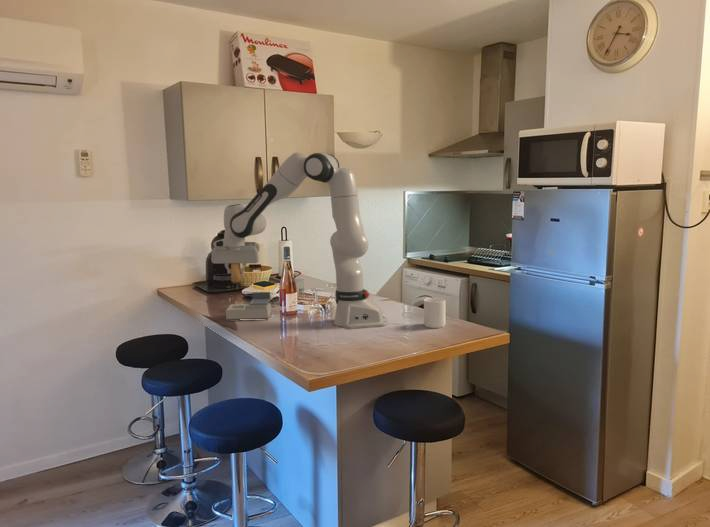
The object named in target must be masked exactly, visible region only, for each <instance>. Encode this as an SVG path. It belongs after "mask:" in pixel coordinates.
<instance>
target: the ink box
mask: <svg viewBox="0 0 710 527" xmlns="http://www.w3.org/2000/svg"><path fill="white" fill-rule="evenodd" d="M294 279H295V283H296V286H297V291H298V293H304V294H305V280H304V279H302V278H294Z"/></svg>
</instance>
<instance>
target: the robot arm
mask: <svg viewBox="0 0 710 527" xmlns="http://www.w3.org/2000/svg"><path fill="white" fill-rule="evenodd" d="M306 178H309V179H311V180H313V181H316V182H321V183H325V184H326V183H327V184H328V186H329V191H330V203H331V213H332V214H331V215H332V218H333V221H334V223H335V227H336V228H335V229H336V231H334V232H333V234H331V236H330V240H329V242H330V243H329V244H330V246H331V251H332V252H331V253H332V257H333V261H334V262H333V263H334V268H335V269H334V270H335V278H336V279H335V280H336V281H335V283H336V285H335V286H336V290H335V296H334V297H335V298H334V299H335V304H336V305H335V306H336V307H335V317H334V319H333V324H334V325H336V326H338V327H344V328H345V329H350V330H351V329H362V328H373V327H374V328H375V327H384V326H386V325H388V323H389V321H388V319H387V317H386V316H385V315H383V312H382V308H381V307H380V306H379V305H378V303H376V302H374V301H373V300H371V299H370V298H369V297H370V292H369V291H368V290H367V289H365V288H364V276H363V275H364V272H363V268H362V265H361V262H360V258H361V257H363V256H364V255H365V254H366V253H367V252H368V250H369V241H368V239H367V237H366V235H365V230H364V226H363V223H362V222H363V221H362V218H361V213H360V203H359V194H358V192H359V191H358V185H357V180H356V177H355V173H354V172H353V170H351V169H350V168H346V167H345V168H344V167H340V163H339V160H338V159H337V158H336V157H335V156H334V155H333V154H330V153H326V152H314V153H312V154H309V155H308V156H306V155H305V154H303V153H301V152H293V153H292V154H291V155H289V156H288V157H287V158H286V159H285V160H284V161H283V162H282V164H280V166H279V167H278V168H277V170H276V171H275V172H274V173H273V175H272V176H271V177H270V179H269V180H268V181H267V182H266V183H265V184H264V185H263V187H262V188H261V189H260V190H259V191H258V193H257V194H256V195H254V197H253V198H252V199H251V200H250V201H249V202H248V204H247V205H245V206H244V205H243V204H240V203H239V204H238V203H236V204H230V205H227V206H225V208H224V211H223V212H224V214H223V226H224V233H223V238H221V239H218V240H216V241H214V242H213V247H212V250H211V259H210V260H211V263H212V264H214V265H215V264H222V265H223V264H224V268H225V269H226V270H227V275H230V274H231V268H230V267H229V266H230V265H229V264H231V263H240V264H241V265H242V266H243V267H242V269H241V268H240V274H241V275H243V274H245V269H246V267H247V264H257V263H259V262H260V255H259V252H260V245H259V244H258V243H257V242H256V241H246V237H250V236H255V235H259V234H261V233H263V232H264V231H265V229H266V227H267V223H266V222H267V221H266V218H265V216H264V215H262V214H263V212H264V211H265V210H266V208H267V207H269V206H270V205H271V204H273V203H275V202H277V201H280V200H283V199H286V198H288V197H290V196H291V195H292V194H294V192H296V191H297V189H298V188H299V187H300V185H301V184H302V183H303V182H304V181H305V179H306Z"/></svg>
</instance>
